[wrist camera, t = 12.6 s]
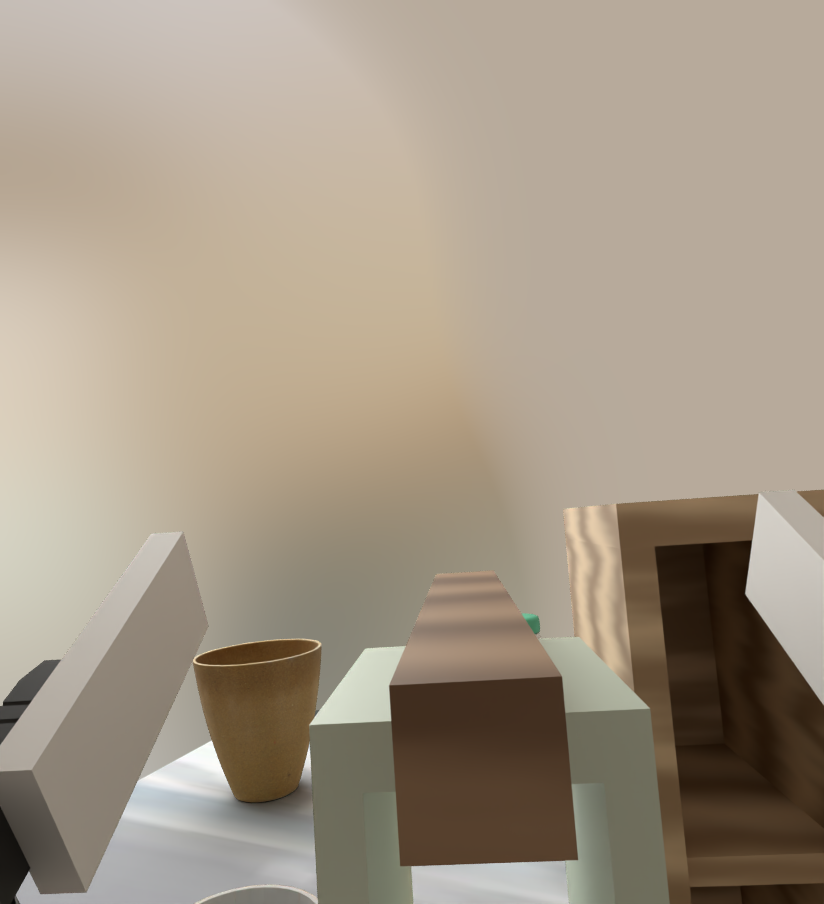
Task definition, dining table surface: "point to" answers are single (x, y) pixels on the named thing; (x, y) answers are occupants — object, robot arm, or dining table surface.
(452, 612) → the wooden square beam
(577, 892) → the sage green rectangular block
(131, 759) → the robot arm
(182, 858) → the dining table surface
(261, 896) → the coffee mug
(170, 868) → the dining table surface
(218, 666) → the plant pot
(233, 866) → the dining table surface
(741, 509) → the brown wooden tall box
